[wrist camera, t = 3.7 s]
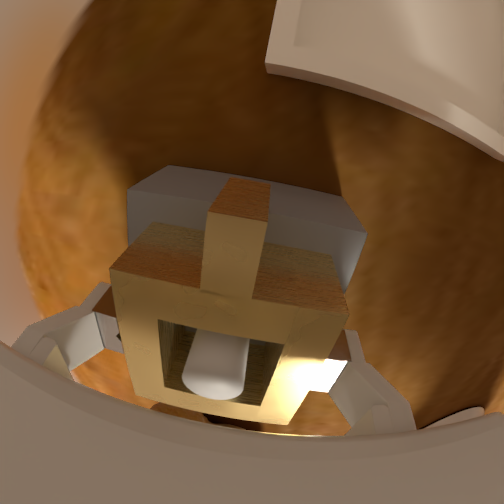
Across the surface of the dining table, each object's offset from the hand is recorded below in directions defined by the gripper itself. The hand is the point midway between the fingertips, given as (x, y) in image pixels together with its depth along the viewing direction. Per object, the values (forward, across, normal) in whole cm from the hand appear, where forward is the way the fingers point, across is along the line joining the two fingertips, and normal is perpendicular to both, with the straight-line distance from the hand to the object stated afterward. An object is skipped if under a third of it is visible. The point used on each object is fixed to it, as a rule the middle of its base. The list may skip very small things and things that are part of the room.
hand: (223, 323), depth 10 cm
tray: (+5, -6, -15) cm, 17 cm away
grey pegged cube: (+5, 0, 0) cm, 5 cm away
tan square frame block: (+1, 0, 0) cm, 1 cm away
